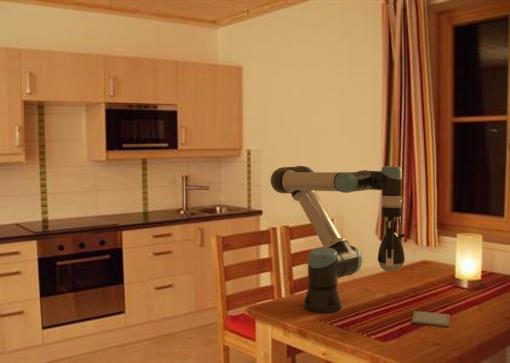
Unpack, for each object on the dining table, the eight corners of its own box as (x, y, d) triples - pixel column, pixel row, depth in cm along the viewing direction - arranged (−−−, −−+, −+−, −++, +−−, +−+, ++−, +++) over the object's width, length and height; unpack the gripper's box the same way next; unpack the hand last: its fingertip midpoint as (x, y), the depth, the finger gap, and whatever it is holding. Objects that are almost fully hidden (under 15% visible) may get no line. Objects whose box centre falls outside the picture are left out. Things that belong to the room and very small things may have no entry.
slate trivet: (411, 323, 201) (411, 321, 201) (414, 312, 213) (414, 310, 213) (448, 327, 197) (448, 325, 197) (449, 316, 209) (449, 314, 209)
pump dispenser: (406, 273, 206) (406, 234, 204) (377, 272, 208) (378, 233, 207) (404, 267, 216) (404, 229, 214) (377, 266, 218) (377, 229, 216)
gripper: (398, 210, 198) (398, 270, 199) (404, 203, 219) (404, 257, 221) (377, 209, 200) (377, 268, 202) (385, 202, 222) (385, 256, 223)
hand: (391, 262), depth 211 cm, fingers closed on pump dispenser, 10 cm apart
